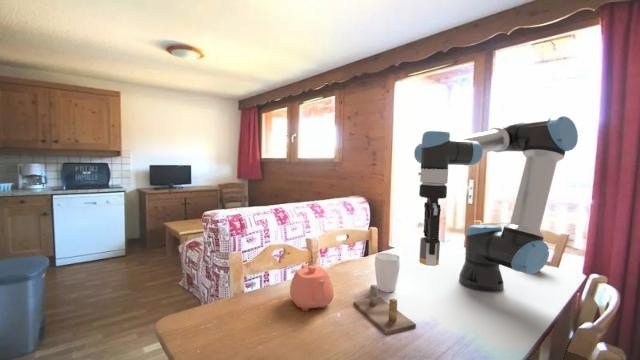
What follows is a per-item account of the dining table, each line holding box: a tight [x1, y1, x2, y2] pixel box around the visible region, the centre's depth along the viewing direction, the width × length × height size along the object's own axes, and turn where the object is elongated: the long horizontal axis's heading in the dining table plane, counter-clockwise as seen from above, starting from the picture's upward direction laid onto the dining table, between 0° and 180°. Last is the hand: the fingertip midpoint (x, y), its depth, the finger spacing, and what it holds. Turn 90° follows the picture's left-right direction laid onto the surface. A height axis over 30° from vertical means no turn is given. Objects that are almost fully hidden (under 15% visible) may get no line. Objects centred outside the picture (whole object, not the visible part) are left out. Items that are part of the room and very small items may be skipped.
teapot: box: [289, 264, 334, 312], centre depth 95 cm, size 13×20×12 cm, turn 21°
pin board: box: [352, 284, 417, 335], centre depth 90 cm, size 18×10×7 cm, turn 23°
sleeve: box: [418, 237, 441, 267], centre depth 88 cm, size 5×5×7 cm
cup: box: [374, 252, 401, 293], centre depth 109 cm, size 9×9×12 cm
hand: (429, 261), depth 89 cm, fingers closed on sleeve, 5 cm apart
